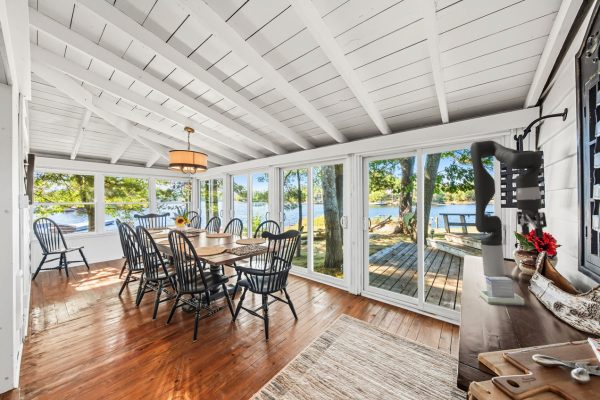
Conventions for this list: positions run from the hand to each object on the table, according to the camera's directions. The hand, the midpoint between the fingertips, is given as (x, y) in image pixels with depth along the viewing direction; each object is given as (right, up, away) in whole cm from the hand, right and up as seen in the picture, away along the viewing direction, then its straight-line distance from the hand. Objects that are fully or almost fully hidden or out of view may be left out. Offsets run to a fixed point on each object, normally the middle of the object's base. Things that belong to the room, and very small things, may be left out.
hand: (532, 236), depth 100 cm
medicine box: (-15, -27, -2) cm, 30 cm away
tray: (-15, -27, -1) cm, 31 cm away
